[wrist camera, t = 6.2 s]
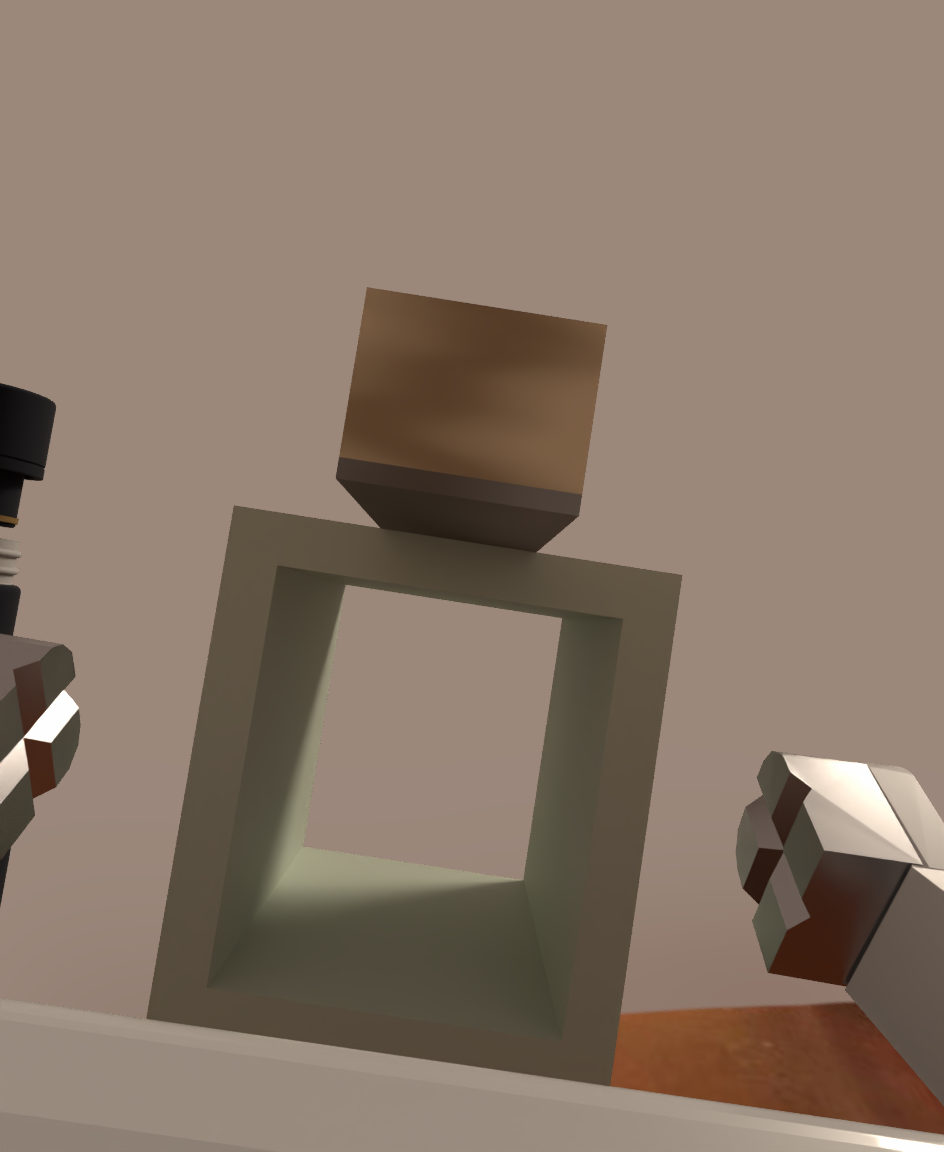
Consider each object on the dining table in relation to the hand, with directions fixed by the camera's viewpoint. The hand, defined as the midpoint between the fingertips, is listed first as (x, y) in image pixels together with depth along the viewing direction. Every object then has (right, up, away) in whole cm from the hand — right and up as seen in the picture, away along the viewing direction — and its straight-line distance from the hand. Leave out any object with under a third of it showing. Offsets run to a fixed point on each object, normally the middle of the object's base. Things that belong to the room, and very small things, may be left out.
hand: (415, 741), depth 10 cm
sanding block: (0, +3, +15) cm, 15 cm away
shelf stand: (-4, -23, +20) cm, 30 cm away
